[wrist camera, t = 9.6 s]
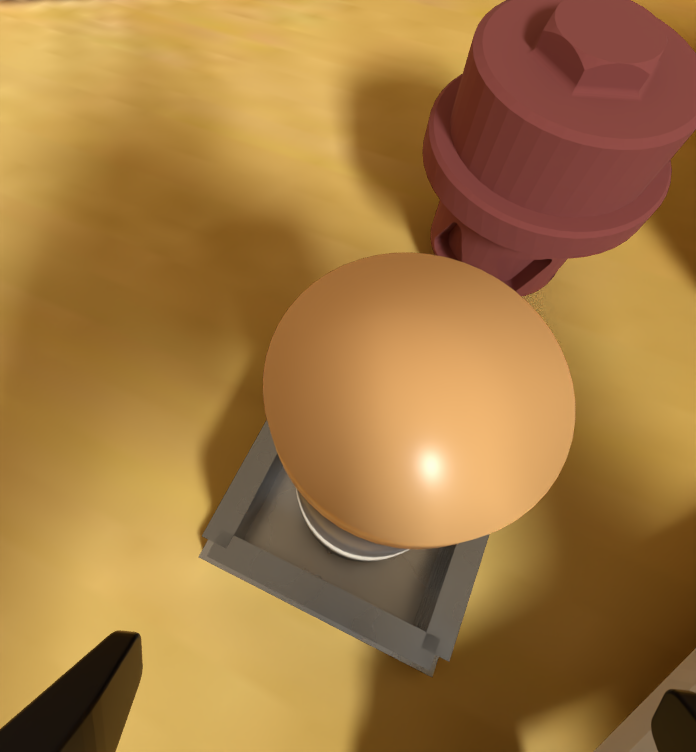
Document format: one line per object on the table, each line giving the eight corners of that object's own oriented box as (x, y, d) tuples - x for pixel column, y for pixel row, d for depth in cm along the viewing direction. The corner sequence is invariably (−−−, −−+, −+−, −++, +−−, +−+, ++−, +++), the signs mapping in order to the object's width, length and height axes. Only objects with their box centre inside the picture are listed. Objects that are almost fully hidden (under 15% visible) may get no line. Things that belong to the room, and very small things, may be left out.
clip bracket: (426, 672, 18) (449, 692, 15) (203, 558, 20) (181, 554, 16) (521, 385, 24) (553, 355, 20) (340, 308, 25) (344, 268, 22)
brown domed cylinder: (350, 598, 18) (401, 625, 7) (270, 482, 20) (202, 348, 8) (455, 509, 20) (639, 410, 8) (372, 409, 22) (433, 211, 10)
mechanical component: (609, 294, 26) (463, 370, 24) (503, 172, 29) (364, 229, 27) (832, 78, 15) (597, 182, 12) (619, -82, 18) (400, -24, 16)
